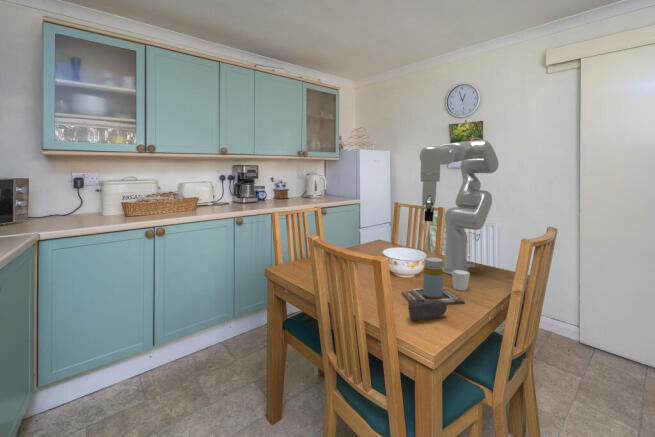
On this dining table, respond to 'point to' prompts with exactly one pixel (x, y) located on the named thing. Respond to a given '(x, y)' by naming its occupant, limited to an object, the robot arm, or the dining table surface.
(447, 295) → the dark rectangular tray
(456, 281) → the white cylinder
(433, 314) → the perforated stone tool
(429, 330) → the dining table surface
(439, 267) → the bottle
